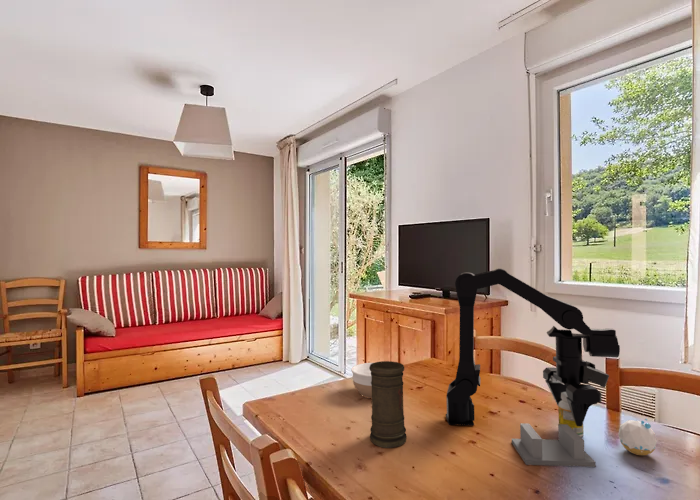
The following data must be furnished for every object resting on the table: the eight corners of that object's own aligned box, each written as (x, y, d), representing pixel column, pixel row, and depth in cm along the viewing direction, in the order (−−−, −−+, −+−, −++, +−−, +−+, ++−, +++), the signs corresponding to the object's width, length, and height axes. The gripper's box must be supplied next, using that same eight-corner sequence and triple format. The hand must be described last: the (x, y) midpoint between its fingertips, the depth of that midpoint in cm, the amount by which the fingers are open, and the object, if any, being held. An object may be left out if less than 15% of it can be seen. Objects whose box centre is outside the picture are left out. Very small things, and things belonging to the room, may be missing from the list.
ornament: (617, 455, 88) (616, 418, 88) (621, 443, 94) (620, 408, 94) (655, 465, 84) (654, 426, 84) (657, 452, 89) (656, 415, 89)
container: (382, 451, 91) (381, 372, 92) (363, 436, 99) (361, 363, 100) (414, 442, 96) (413, 366, 96) (393, 428, 103) (392, 358, 104)
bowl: (369, 382, 142) (368, 360, 142) (409, 390, 132) (409, 366, 133) (341, 395, 129) (341, 370, 129) (384, 405, 119) (384, 379, 120)
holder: (526, 464, 85) (525, 440, 85) (511, 442, 95) (511, 421, 95) (595, 466, 83) (595, 442, 83) (573, 444, 93) (573, 422, 93)
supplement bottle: (581, 440, 95) (580, 399, 95) (556, 434, 99) (555, 395, 99) (585, 432, 99) (584, 393, 100) (561, 426, 103) (560, 389, 103)
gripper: (625, 365, 89) (627, 436, 89) (584, 346, 108) (586, 405, 108) (572, 365, 90) (574, 434, 90) (541, 346, 109) (543, 404, 109)
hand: (570, 418), depth 99 cm, fingers open, 9 cm apart
